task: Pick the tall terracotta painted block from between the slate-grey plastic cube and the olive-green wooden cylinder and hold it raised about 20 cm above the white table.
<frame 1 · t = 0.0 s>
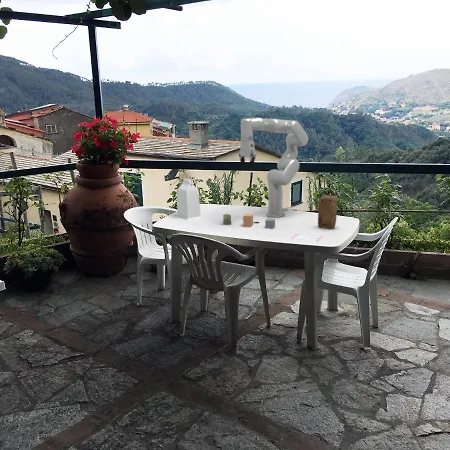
hand: (247, 165, 288), 37 cm above the table, tool pointing down, fingers open, 9 cm apart
block: (326, 227, 279), on the table
olive cylinder: (227, 224, 293), on the table
milk: (189, 216, 317), on the table
terracotta block: (248, 225, 288), on the table
grey cube: (270, 227, 283), on the table
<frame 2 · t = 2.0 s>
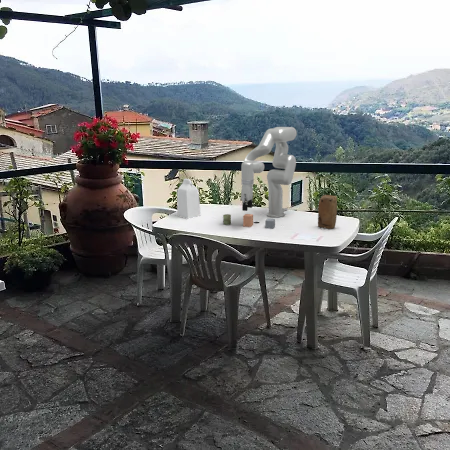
hand: (247, 209, 285), 11 cm above the table, tool pointing down, fingers open, 9 cm apart
nothing on the table moved.
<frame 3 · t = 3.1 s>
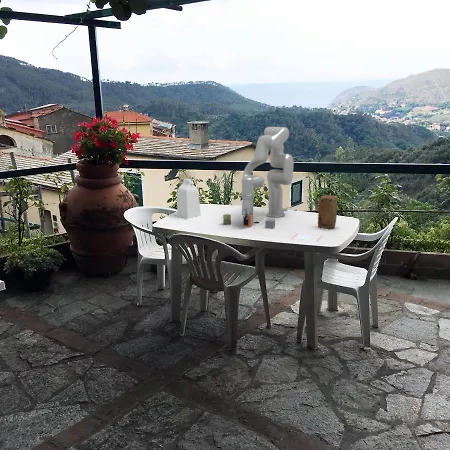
hand: (248, 223, 288), 2 cm above the table, tool pointing down, fingers open, 9 cm apart
nothing on the table moved.
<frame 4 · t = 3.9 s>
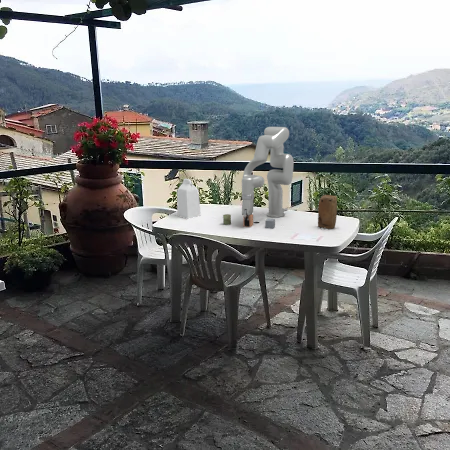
hand: (248, 224, 288), 1 cm above the table, tool pointing down, fingers closed on terracotta block, 5 cm apart
terracotta block: (248, 225, 288), on the table, touching gripper
everything else where it was.
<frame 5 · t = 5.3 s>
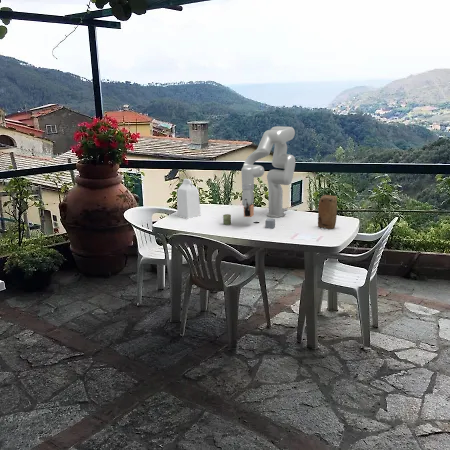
hand: (248, 214, 287), 7 cm above the table, tool pointing down, fingers closed on terracotta block, 5 cm apart
terracotta block: (248, 215, 287), point 6 cm above the table, touching gripper
everything else where it was.
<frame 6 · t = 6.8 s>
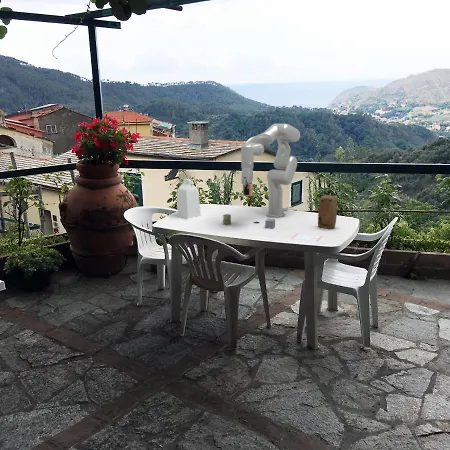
hand: (247, 193, 283), 21 cm above the table, tool pointing down, fingers closed on terracotta block, 5 cm apart
terracotta block: (247, 194, 283), point 20 cm above the table, touching gripper
everything else where it was.
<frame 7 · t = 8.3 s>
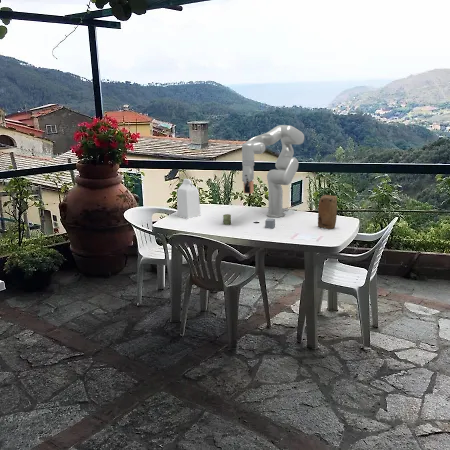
hand: (248, 191, 287), 21 cm above the table, tool pointing down, fingers closed on terracotta block, 5 cm apart
terracotta block: (248, 192, 287), point 21 cm above the table, touching gripper
everything else where it was.
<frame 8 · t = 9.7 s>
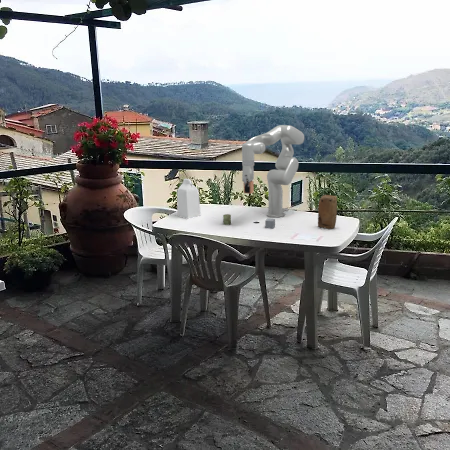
hand: (248, 191, 287), 21 cm above the table, tool pointing down, fingers closed on terracotta block, 5 cm apart
terracotta block: (248, 192, 287), point 21 cm above the table, touching gripper
everything else where it was.
at the end: the gripper is holding terracotta block; terracotta block point 20.5 cm above the table; grey cube moved 0.1 cm from its start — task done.
